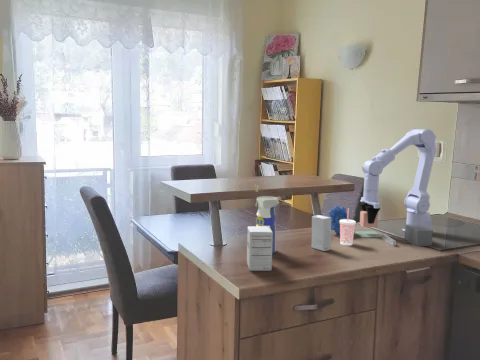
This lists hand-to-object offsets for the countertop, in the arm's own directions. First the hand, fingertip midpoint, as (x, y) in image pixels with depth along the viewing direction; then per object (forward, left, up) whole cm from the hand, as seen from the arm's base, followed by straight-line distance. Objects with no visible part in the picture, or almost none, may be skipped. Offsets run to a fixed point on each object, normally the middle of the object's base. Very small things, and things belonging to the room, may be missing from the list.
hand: (368, 222), depth 188 cm
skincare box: (+26, +19, -6) cm, 33 cm away
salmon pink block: (0, 0, -2) cm, 2 cm away
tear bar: (-4, +12, -5) cm, 14 cm away
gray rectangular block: (-16, +12, -5) cm, 20 cm away
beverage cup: (+14, +13, -6) cm, 20 cm away
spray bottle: (+47, +21, -6) cm, 52 cm away
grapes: (+12, -1, -6) cm, 13 cm away
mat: (0, 0, -5) cm, 5 cm away
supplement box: (+52, +38, -6) cm, 65 cm away
